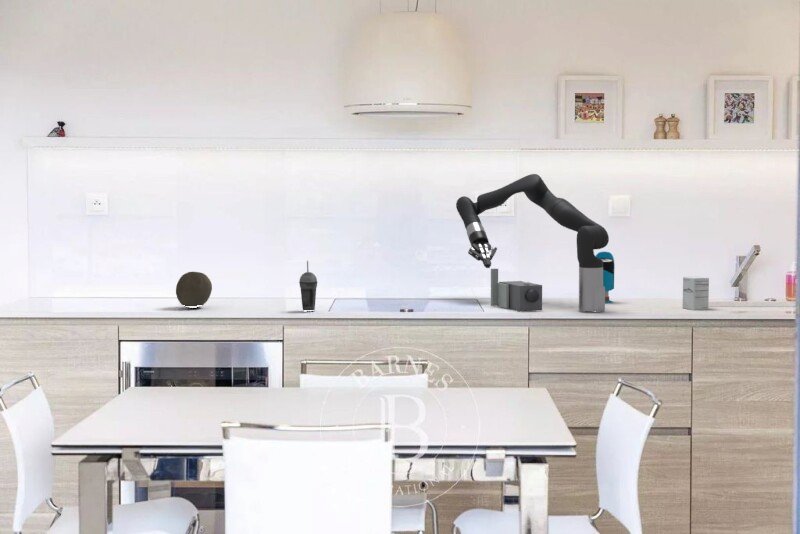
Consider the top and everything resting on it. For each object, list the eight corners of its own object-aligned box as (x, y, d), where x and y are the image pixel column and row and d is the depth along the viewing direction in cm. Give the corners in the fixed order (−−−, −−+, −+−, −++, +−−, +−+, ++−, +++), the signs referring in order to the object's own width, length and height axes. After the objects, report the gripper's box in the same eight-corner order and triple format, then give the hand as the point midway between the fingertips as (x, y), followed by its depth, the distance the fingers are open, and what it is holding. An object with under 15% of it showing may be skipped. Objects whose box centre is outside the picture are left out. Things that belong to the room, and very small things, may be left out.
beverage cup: (301, 313, 401) (300, 261, 400) (297, 310, 408) (297, 260, 407) (319, 312, 403) (319, 261, 402) (316, 310, 410) (315, 260, 409)
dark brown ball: (206, 310, 411) (205, 273, 410) (171, 310, 413) (170, 273, 412) (216, 306, 425) (215, 270, 424) (183, 306, 427) (182, 270, 426)
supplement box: (681, 308, 410) (682, 276, 409) (697, 307, 412) (697, 276, 411) (693, 310, 403) (693, 278, 402) (709, 309, 405) (709, 277, 404)
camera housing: (498, 306, 421) (498, 279, 420) (520, 305, 424) (520, 278, 423) (521, 312, 400) (521, 283, 399) (544, 311, 403) (544, 283, 402)
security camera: (594, 252, 426) (592, 251, 436) (594, 303, 428) (592, 301, 438) (615, 252, 425) (613, 251, 435) (615, 303, 427) (612, 301, 437)
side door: (490, 306, 419) (490, 268, 418) (498, 305, 420) (498, 268, 419) (500, 308, 410) (500, 270, 408) (508, 308, 411) (508, 270, 409)
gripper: (489, 241, 438) (500, 272, 428) (460, 241, 434) (471, 273, 424) (494, 229, 433) (505, 260, 422) (464, 229, 429) (476, 261, 418)
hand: (488, 266), depth 423 cm, fingers closed
